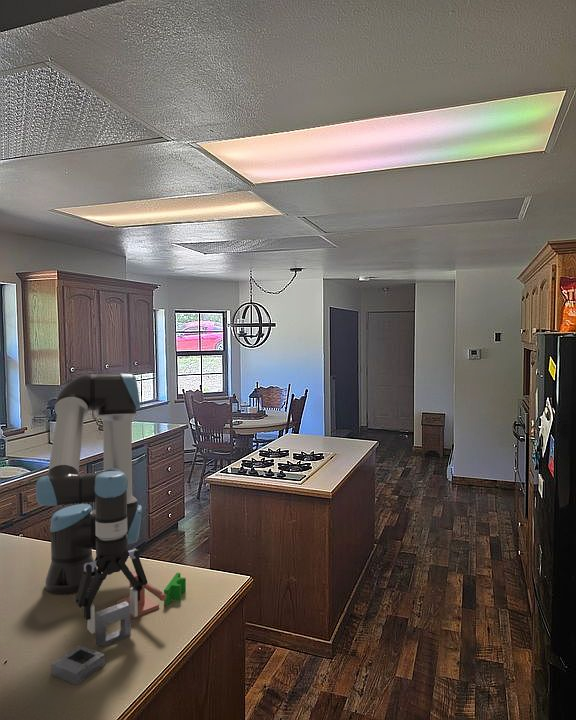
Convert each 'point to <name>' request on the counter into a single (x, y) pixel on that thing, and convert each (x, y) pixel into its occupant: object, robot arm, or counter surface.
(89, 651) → the link
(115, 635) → the link
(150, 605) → the hook
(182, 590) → the pipe clamp
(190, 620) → the counter surface
